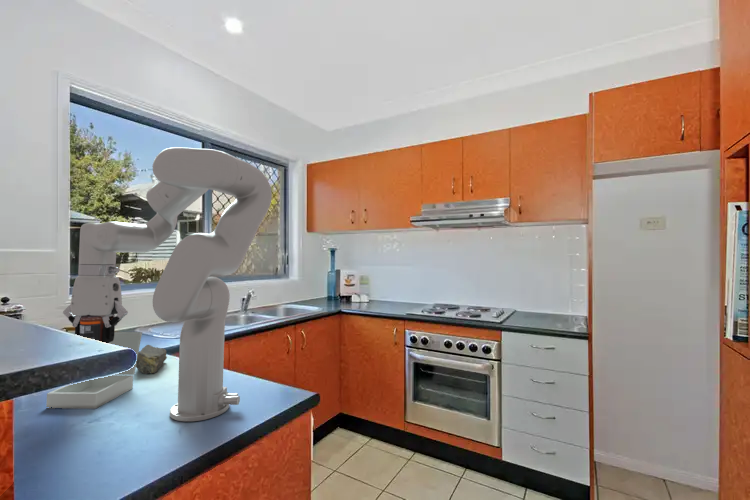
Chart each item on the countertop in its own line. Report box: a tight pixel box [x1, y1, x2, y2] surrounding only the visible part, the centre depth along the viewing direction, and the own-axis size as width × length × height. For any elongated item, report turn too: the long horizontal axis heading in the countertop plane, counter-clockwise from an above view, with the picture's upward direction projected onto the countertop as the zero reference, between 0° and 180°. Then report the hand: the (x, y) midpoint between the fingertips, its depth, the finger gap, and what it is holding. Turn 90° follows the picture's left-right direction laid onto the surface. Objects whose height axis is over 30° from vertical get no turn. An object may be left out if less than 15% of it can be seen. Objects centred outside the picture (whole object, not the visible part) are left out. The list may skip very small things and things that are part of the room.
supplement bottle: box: [80, 315, 105, 341], centre depth 91 cm, size 6×6×11 cm
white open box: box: [45, 331, 143, 410], centre depth 93 cm, size 11×17×15 cm
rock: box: [135, 344, 168, 375], centre depth 116 cm, size 17×7×10 cm
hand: (94, 341), depth 91 cm, fingers closed on supplement bottle, 6 cm apart
